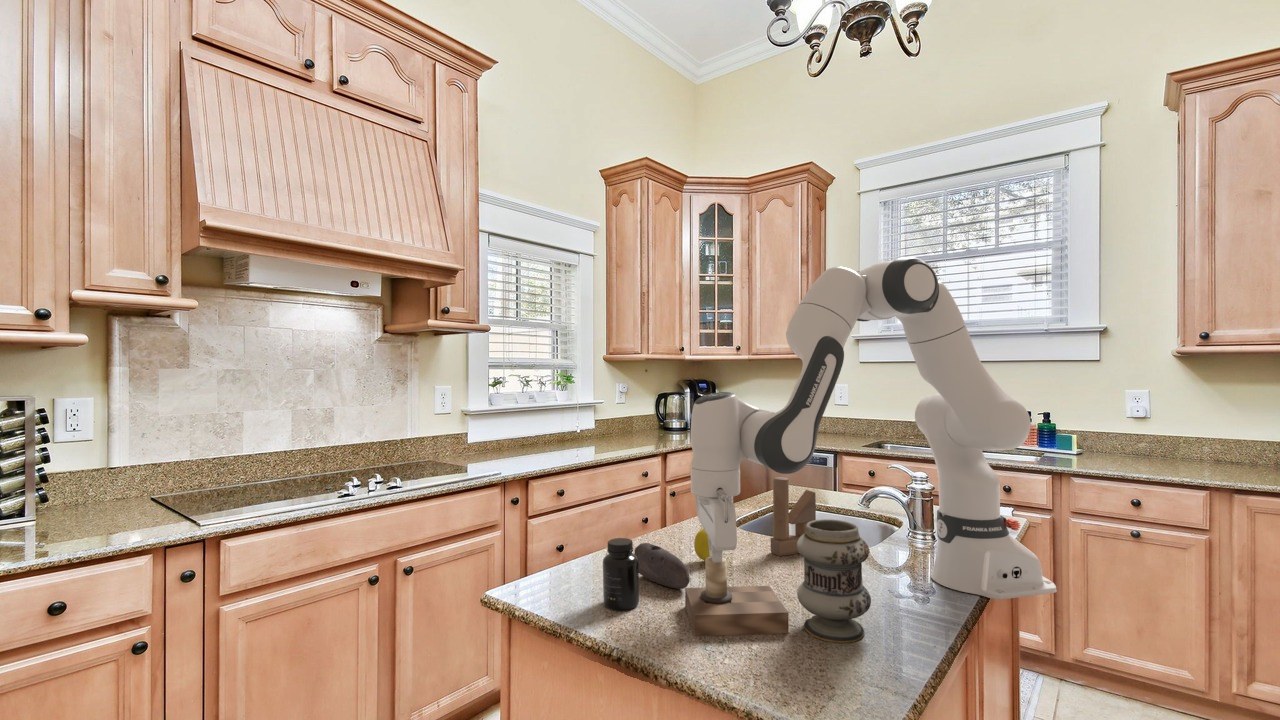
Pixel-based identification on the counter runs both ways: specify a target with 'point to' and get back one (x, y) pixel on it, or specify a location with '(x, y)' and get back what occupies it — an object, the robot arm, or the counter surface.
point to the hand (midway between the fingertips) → (715, 560)
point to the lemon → (702, 545)
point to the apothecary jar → (833, 580)
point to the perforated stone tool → (661, 566)
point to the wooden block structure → (789, 517)
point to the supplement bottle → (620, 575)
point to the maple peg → (716, 582)
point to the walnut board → (737, 612)
